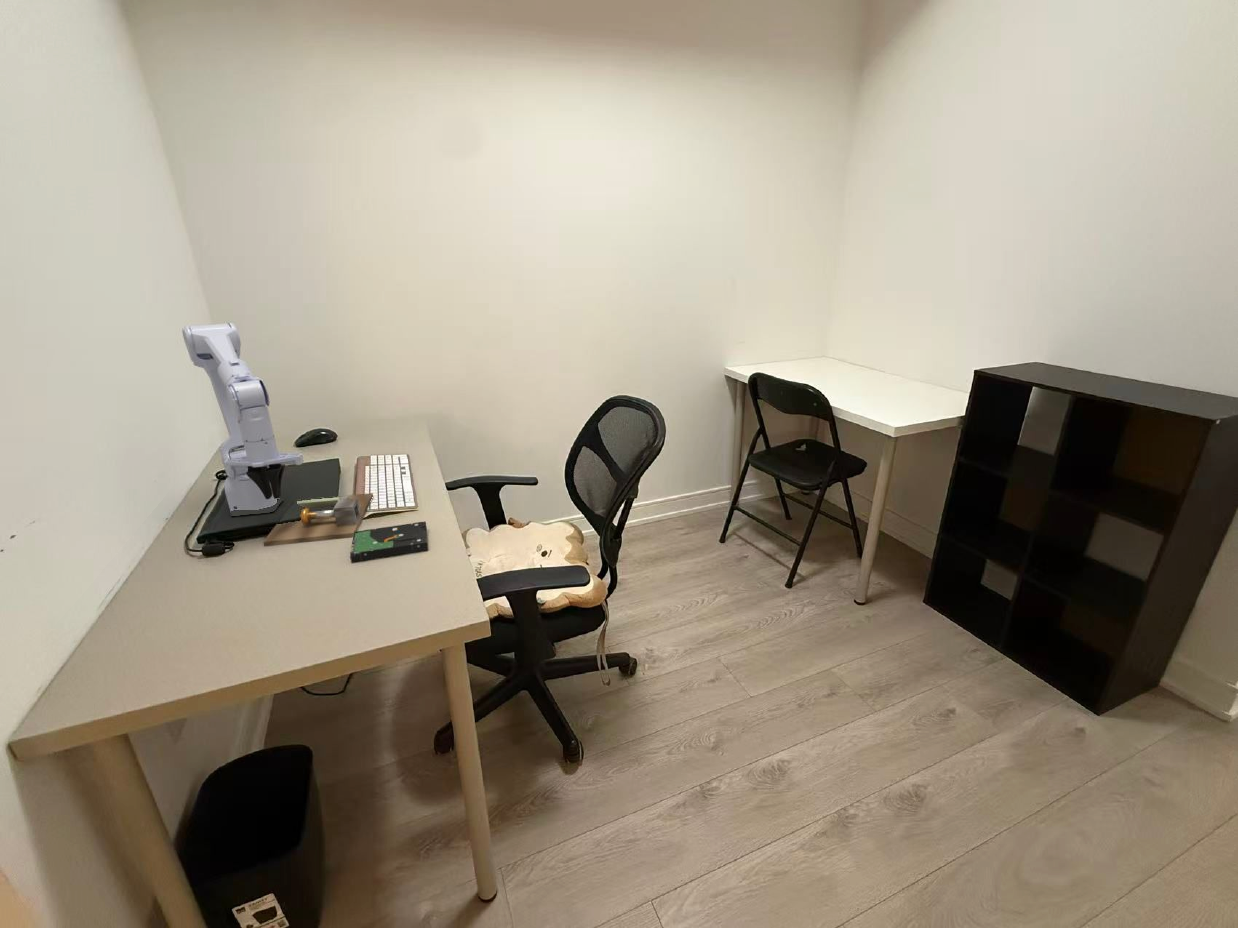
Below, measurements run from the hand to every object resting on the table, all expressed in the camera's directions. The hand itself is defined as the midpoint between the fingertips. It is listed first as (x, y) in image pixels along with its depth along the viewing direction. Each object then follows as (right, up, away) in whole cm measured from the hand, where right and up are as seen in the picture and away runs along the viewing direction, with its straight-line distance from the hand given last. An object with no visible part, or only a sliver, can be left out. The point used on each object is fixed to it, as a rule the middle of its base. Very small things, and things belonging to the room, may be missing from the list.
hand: (273, 497), depth 124 cm
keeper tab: (+6, -2, +9) cm, 11 cm away
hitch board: (+6, -6, +9) cm, 12 cm away
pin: (+9, -6, +4) cm, 11 cm away
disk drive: (+27, -11, -3) cm, 29 cm away
